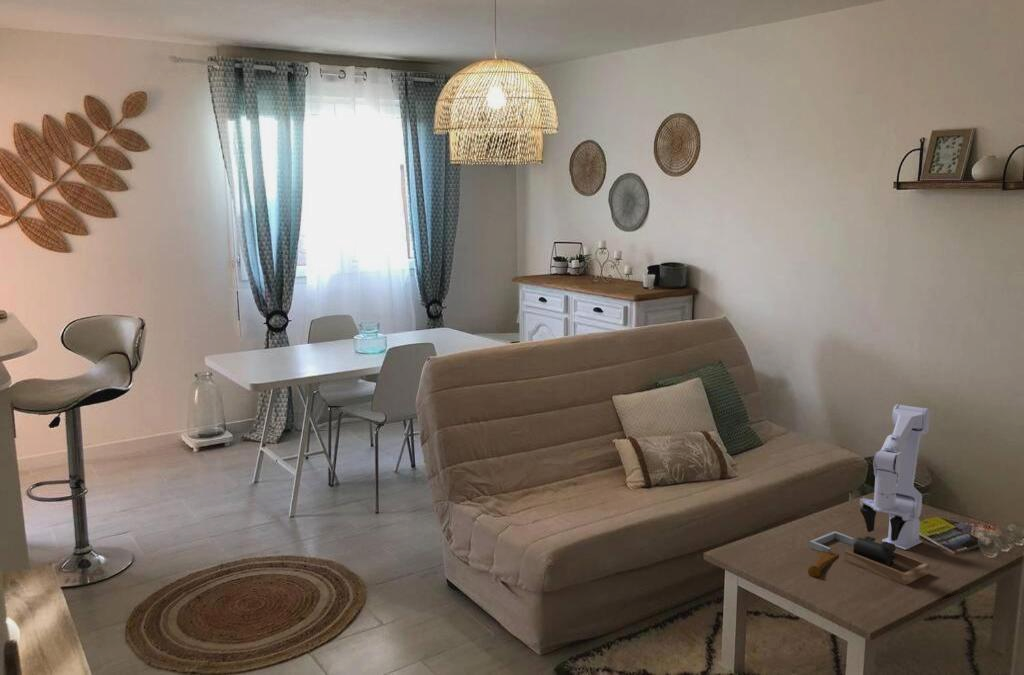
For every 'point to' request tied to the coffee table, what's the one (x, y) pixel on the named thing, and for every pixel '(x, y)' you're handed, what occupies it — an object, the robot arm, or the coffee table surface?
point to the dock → (821, 540)
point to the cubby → (905, 578)
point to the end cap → (875, 550)
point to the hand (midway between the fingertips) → (882, 535)
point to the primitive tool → (821, 563)
